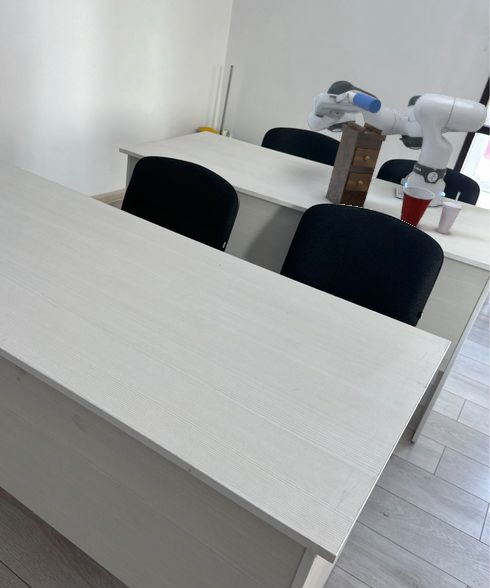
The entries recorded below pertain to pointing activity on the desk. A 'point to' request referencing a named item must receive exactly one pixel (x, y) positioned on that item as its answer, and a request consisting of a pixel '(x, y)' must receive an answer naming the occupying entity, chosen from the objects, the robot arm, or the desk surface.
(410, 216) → the plastic cup
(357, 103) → the bottle
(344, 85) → the robot arm
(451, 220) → the smoothie
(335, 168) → the bedside cabinet
